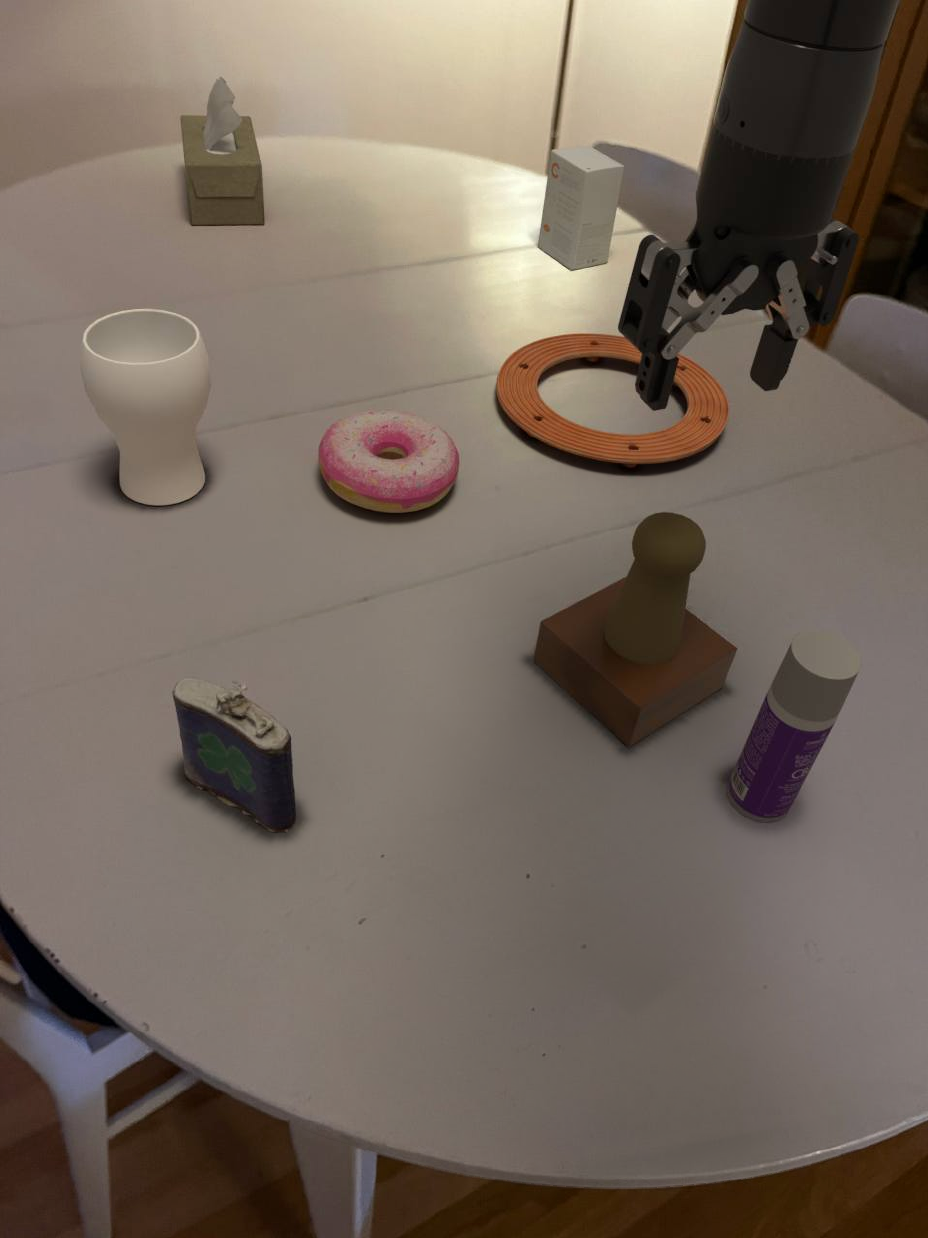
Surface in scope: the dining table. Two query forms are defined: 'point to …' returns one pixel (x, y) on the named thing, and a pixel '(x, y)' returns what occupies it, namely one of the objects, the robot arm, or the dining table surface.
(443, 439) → the donut
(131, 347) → the cup
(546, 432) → the ring
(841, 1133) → the dining table surface
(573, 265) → the small box
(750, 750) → the container
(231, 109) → the tissue box
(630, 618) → the olive pawn
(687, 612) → the walnut block
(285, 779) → the flask
